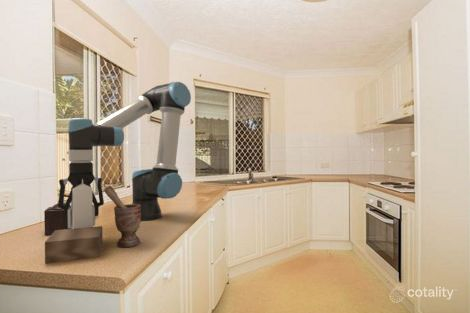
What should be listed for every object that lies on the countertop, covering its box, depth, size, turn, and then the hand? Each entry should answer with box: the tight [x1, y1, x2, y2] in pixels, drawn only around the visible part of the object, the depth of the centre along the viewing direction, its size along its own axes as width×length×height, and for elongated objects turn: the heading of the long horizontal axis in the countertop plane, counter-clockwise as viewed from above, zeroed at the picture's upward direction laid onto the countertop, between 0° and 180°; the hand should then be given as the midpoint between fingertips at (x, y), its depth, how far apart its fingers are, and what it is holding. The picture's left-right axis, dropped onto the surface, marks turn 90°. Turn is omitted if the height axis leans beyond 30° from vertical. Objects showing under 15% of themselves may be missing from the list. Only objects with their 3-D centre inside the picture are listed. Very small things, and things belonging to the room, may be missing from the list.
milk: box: [70, 179, 94, 229], centre depth 105 cm, size 6×6×22 cm
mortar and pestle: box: [104, 185, 142, 248], centre depth 99 cm, size 12×9×20 cm
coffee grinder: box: [43, 190, 71, 236], centre depth 119 cm, size 16×11×18 cm
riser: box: [44, 225, 103, 264], centre depth 92 cm, size 14×14×6 cm
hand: (82, 226), depth 105 cm, fingers closed on milk, 7 cm apart
